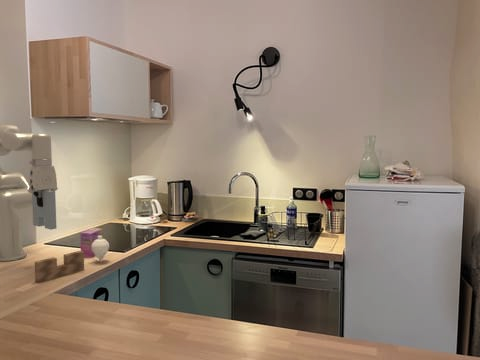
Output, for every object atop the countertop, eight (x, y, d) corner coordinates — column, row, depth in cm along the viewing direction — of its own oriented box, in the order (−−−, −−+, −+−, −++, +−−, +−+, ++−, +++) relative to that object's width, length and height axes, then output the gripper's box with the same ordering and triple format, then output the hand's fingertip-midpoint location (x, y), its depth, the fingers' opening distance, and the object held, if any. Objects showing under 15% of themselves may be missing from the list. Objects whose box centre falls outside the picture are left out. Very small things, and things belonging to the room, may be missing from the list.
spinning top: (91, 265, 186) (90, 238, 185) (92, 260, 193) (91, 234, 192) (109, 263, 188) (108, 237, 187) (109, 259, 195) (109, 233, 194)
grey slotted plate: (56, 228, 178) (55, 191, 177) (50, 229, 176) (49, 191, 175) (38, 224, 186) (37, 188, 185) (33, 225, 184) (31, 188, 183)
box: (91, 258, 197) (90, 233, 196) (80, 257, 198) (79, 232, 197) (103, 252, 207) (102, 228, 206) (92, 251, 208) (91, 227, 207)
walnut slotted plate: (38, 283, 163) (37, 262, 162) (35, 281, 165) (34, 261, 164) (84, 269, 179) (83, 251, 178) (80, 268, 181) (80, 250, 180)
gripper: (27, 164, 170) (29, 209, 172) (64, 162, 183) (66, 204, 185) (18, 163, 174) (20, 207, 176) (55, 161, 187) (56, 202, 189)
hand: (43, 205), depth 180 cm, fingers closed on grey slotted plate, 2 cm apart
